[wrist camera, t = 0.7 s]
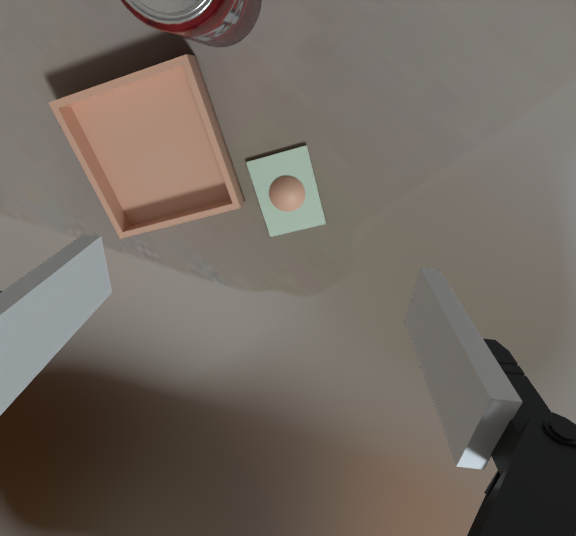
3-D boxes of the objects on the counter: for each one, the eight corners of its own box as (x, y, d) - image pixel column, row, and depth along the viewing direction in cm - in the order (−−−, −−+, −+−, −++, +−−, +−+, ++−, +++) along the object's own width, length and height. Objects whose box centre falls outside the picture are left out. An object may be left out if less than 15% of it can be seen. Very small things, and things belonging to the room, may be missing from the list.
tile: (246, 161, 35) (245, 162, 34) (306, 144, 34) (306, 145, 33) (270, 235, 38) (270, 237, 38) (325, 222, 37) (325, 224, 37)
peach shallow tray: (66, 101, 33) (48, 102, 31) (195, 55, 31) (186, 54, 29) (131, 229, 39) (120, 238, 37) (245, 200, 37) (240, 207, 34)
